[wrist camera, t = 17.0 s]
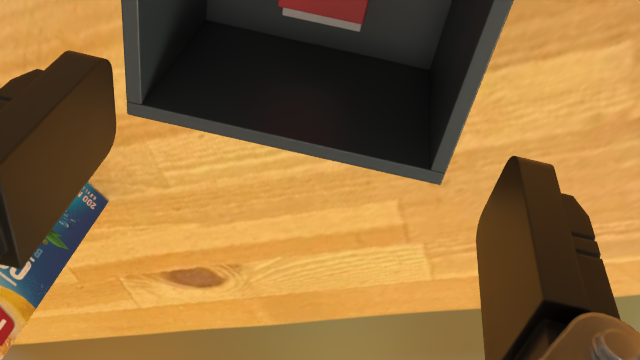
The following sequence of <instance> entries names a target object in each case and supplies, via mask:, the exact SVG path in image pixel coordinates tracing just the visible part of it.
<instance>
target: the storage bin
mask: <svg viewBox="0 0 640 360" xmlns="http://www.w3.org/2000/svg"><path fill="white" fill-rule="evenodd" d="M513 1H514V0H369V1H368V5H367V10H366V14H365V19H364V23H363V24H362V25H361V29H360V31H359V32H358V31H353V30H349V29H344V28H340V27H335V26H331V25H326V24H321V23H317V22H312V21H308V20H303V19H298V18H294V17H289V16H285V15H282V12H283V7H279V6H278V0H121V4H122V22H123V41H124V59H125V78H126V96H127V113H128V114H129V115H133V116H138V117H142V118H146V119H151V120H155V121H160V122H164V123H169V124H173V125H177V126H182V127H186V128H191V129H195V130H200V131H204V132H208V133H213V134H217V135H222V136H226V137H230V138H235V139H239V140H244V141H248V142H253V143H257V144H261V145H266V146H270V147H275V148H279V149H284V150H288V151H292V152H297V153H301V154H306V155H310V156H314V157H319V158H323V159H328V160H332V161H337V162H341V163H345V164H350V165H354V166H359V167H363V168H368V169H372V170H376V171H381V172H385V173H390V174H394V175H398V176H403V177H407V178H412V179H416V180H421V181H425V182H429V183H434V184H438V185H441V183H442V180H443V178H444V175H445V172H446V170H447V168H448V165H449V163H450V160H451V158H452V155H453V153H454V150H455V148H456V145H457V143H458V140H459V138H460V135H461V132H462V130H463V127H464V125H465V122H466V120H467V117H468V115H469V112H470V110H471V107H472V105H473V102H474V100H475V97H476V95H477V92H478V89H479V87H480V84H481V82H482V79H483V77H484V74H485V72H486V69H487V67H488V64H489V62H490V59H491V57H492V54H493V52H494V49H495V46H496V44H497V41H498V39H499V36H500V34H501V31H502V29H503V26H504V24H505V21H506V19H507V16H508V14H509V11H510V9H511V6H512V3H513Z"/></svg>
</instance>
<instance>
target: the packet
mask: <svg viewBox="0 0 640 360" xmlns="http://www.w3.org/2000/svg"><path fill="white" fill-rule="evenodd" d="M368 1H369V0H278V6H279V7H283V12H282V15H285V16H289V17H294V18H298V19H303V20H308V21H312V22H317V23H321V24H326V25H331V26H335V27H340V28H344V29H349V30H353V31H358V32H359V31H360V29H361V25H362V24H363V23H364V19H365V14H366V10H367V5H368Z"/></svg>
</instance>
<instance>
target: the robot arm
mask: <svg viewBox="0 0 640 360" xmlns="http://www.w3.org/2000/svg"><path fill="white" fill-rule="evenodd" d="M115 133H116V115H115V101H114V87H113V73H112V67H111V64H110V62H109V61H108V60H107V59H104V58H99V57H95V56H91V55H86V54H82V53H78V52H74V51H66V52H64V53H63V54H62V55H61V56H60V57H59V58H58V59H56V60H55V61H54V62H53V63H52V64H51V65H50V66H49V67H48V68H46V69H45V70H44V71H43V70H39V69H36V70H33V71H31V72H28V73H26V74H24V75H21V76H19V77H16V78H14V79H11V80H10V81H9V82H8V83H7V84H6V85H4V86H3V87H2V88H1V89H0V264H1V265H5V266H9V267H13V268H17V269H21V270H22V269H23V267H24V266H25V265H26V263H27V262H28V261H29V259H30V258H31V257H32V255H33V254H34V253H35V251H36V250H37V249H38V247H39V246H40V245H41V243H42V242H43V241H44V239H45V238H46V237H47V235H48V234H49V232H50V231H51V230H52V228H53V227H54V226H55V224H56V223H57V222H58V220H59V219H60V218H61V216H62V215H63V214H64V212H65V211H66V210H67V208H68V207H69V206H70V204H71V203H72V202H73V200H74V199H75V198H76V196H77V195H78V194H79V192H80V191H81V190H82V188H83V187H84V186H85V184H86V183H87V182H88V180H89V179H90V178H91V176H92V175H93V174H94V172H95V171H96V170H97V168H98V167H99V166H100V164H101V163H102V162H103V160H104V159H105V158H106V156H107V155H108V153H109V152H110V150H111V147H112V145H113V142H114V138H115ZM476 247H477V260H478V273H479V286H480V299H481V312H482V323H483V337H484V350H485V360H640V333H639V332H638V331H636V330H635V329H634V328H632V327H631V326H630V325H628V324H626V323H625V322H623V321H621V320H620V316H619V313H618V310H617V307H616V303H615V300H614V297H613V293H612V290H611V287H610V284H609V280H608V277H607V274H606V271H605V267H604V264H603V261H602V259H600V255H601V254H600V251H599V248H598V244H597V242H595V235H594V231H593V228H592V225H591V222H590V218H589V216H588V215H587V214H586V212H585V211H584V210H583V208H582V207H581V206H580V205H579V203H578V202H577V201H576V199H575V198H574V197H573V196H571V195H567V194H562V193H561V192H560V188H559V184H558V180H557V177H556V173H555V169H554V167H553V165H551V164H547V163H543V162H538V161H534V160H530V159H526V158H521V157H517V156H512V157H511V158H510V159H509V160H508V162H507V163H506V165H505V167H504V169H503V171H502V173H501V175H500V177H499V179H498V181H497V183H496V185H495V187H494V189H493V191H492V193H491V195H490V197H489V199H488V201H487V204H486V206H485V208H484V210H483V212H482V214H481V217H480V220H479V224H478V228H477V235H476Z"/></svg>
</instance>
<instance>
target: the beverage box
mask: <svg viewBox="0 0 640 360" xmlns="http://www.w3.org/2000/svg"><path fill="white" fill-rule="evenodd" d="M107 203H108V200H107V199H106V198H105V197H104V196H103V195H102V194H101V193H99V192H98V191H97V190H96V189H95V188H94V187H93V186H92V185H91V184H90V183H88V182H87V183H86V184H85V186H84V187H83V188H82V190H81V191H80V192H79V194H78V195H77V196H76V198H75V199H74V200H73V202H72V203H71V204H70V206H69V207H68V208H67V210H66V211H65V212H64V214H63V215H62V216H61V218H60V219H59V220H58V222H57V223H56V224H55V226H54V227H53V228H52V230H51V231H50V232H49V234H48V235H47V237H46V238H45V239H44V241H43V242H42V243H41V245H40V246H39V247H38V249H37V250H36V251H35V253H34V254H33V255H32V257H31V258H30V259H29V261H28V262H27V263H26V265H25V266H24V267H23V269H22V270H21V269H17V268H13V267H9V266H5V265H1V264H0V360H2V358H3V356H4V355H5V354H6V352H7V351H8V349H9V348H10V347H11V345H12V344H13V342H14V341H15V339H16V338H17V336H18V335H19V333H20V332H21V330H22V329H23V327H24V326H25V324H26V323H27V321H28V320H29V318H30V317H31V315H32V314H33V312H34V311H35V310H36V308H37V307H38V305H39V304H40V302H41V301H42V299H43V298H44V296H45V295H46V293H47V292H48V290H49V289H50V287H51V286H52V284H53V283H54V281H55V280H56V278H57V277H58V275H59V274H60V273H61V271H62V270H63V268H64V267H65V265H66V264H67V262H68V261H69V259H70V258H71V256H72V255H73V253H74V252H75V250H76V249H77V247H78V246H79V244H80V243H81V241H82V240H83V238H84V237H85V236H86V234H87V233H88V231H89V230H90V228H91V227H92V225H93V224H94V222H95V221H96V219H97V218H98V216H99V215H100V213H101V212H102V210H103V209H104V207H105V206H106V204H107Z"/></svg>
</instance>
